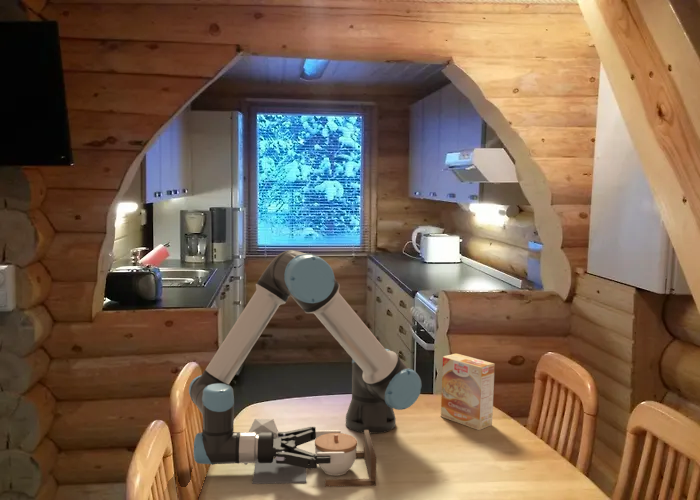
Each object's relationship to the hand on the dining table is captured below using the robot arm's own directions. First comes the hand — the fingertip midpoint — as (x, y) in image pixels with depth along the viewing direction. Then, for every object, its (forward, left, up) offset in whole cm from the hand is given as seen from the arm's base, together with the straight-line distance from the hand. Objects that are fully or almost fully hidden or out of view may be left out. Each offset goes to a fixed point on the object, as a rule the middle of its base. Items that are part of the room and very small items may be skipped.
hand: (342, 446), depth 161 cm
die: (+19, -16, -7) cm, 26 cm away
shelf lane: (-1, 0, -6) cm, 7 cm away
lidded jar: (+2, 0, -7) cm, 7 cm away
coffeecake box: (-43, -29, -7) cm, 52 cm away
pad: (+16, -1, -6) cm, 17 cm away
